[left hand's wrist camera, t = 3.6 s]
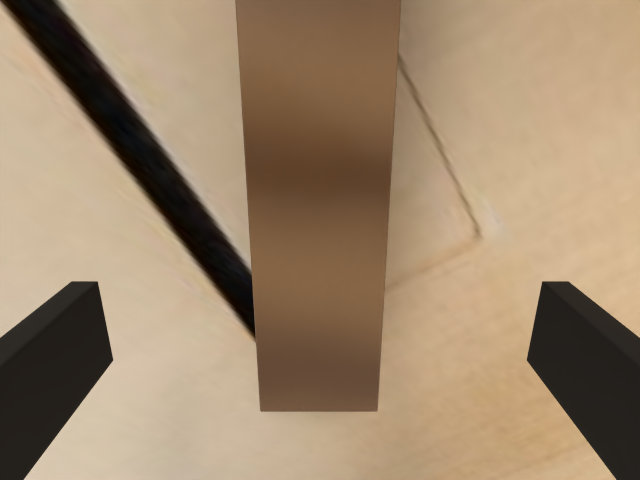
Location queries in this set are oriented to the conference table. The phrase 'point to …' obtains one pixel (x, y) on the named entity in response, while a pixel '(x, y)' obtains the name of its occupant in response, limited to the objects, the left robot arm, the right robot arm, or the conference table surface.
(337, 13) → the bar
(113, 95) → the conference table surface
